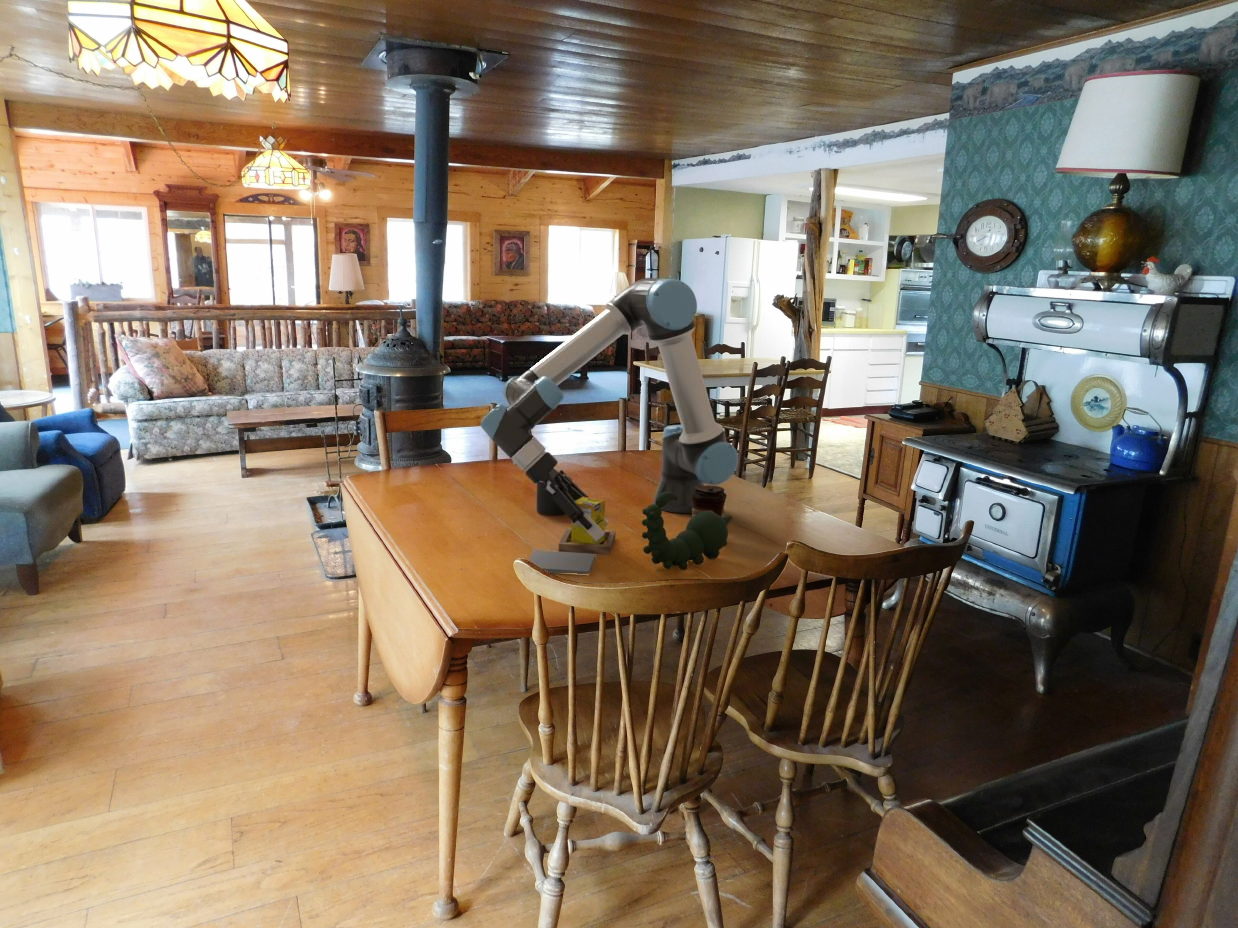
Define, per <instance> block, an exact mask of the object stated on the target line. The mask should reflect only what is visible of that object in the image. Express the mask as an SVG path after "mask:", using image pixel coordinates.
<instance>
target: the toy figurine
mask: <svg viewBox="0 0 1238 928" xmlns="http://www.w3.org/2000/svg"><path fill="white" fill-rule="evenodd" d="M671 499H674V500H676V501H677V500H678V497H677V496H676V494H674V493H673V492H663V493H661V494H660V495H658V496H657V497H656V500H655V503H656V504H654V503H653V504H649V505H648V506H647V507H646V508H643V509H642V514H643V515H644V516H645V517H646V518H644V519H642V521H641V525H642V526H643V527H646V529H647V530H646V531H643V532H642V534H641V537H642V538H643V539H645V540H646V539H647V540H648V545H645V546H643V548H642V549H643V551H642V552H643V553H644V554H646V555H649V554H651V555H650V556H652V557H651V562H652V564H654V565H658V564H660V563H662V566H663V568H664V570H670V569H671V568H672V567H674V566H675V567H678V569H680V570H681V571H685V570H687V569H688V568H689V565H688V564H689V563H688V561H692V562H693V563H694V565H702V564H703V563H704V561H705V558H707V559H708V560H709V559H710V560H712V559H713V560H714V559H716V558H718V557H719V556H720V550H721V549H722V548H723V547H726V546H727V545H728V536H729V530H728V525H729V523H730V522H731V520H732V519H733V517H732V516H733V515H732V516H731V515H727V516H723V517H720V516H719V515H718V514H716V513H713V512H701V513H698V514H696V515H695V516H693V517H691V518H690V519H689V520H688V522H687V525H686V527H685V530H681V531H680V533H678V534H677V536H676V537H674V538H671V539H669V537H667V531H666V529H665V527H664V526H665V521H664V518H663V517H662V514H663V510H661V507H663V506H665V505H666V504H667V503H668V502H669V501H670V500H671Z"/></svg>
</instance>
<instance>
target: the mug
mask: <svg viewBox="0 0 1238 928" xmlns="http://www.w3.org/2000/svg"><path fill="white" fill-rule="evenodd" d="M567 477H568V478H569V479H570V480H572V481H573V478H572V477H570V476H568V475H567ZM545 488H546V485H545V484H544V483H543V481H542V480H540V481H539V482H538V483H536V511H537V513H538V514H540V515H543V516H550V517H551V516H553V517H555V516H557V517H558V516H565V515H566V514H565V512H564V511H563V510H562V509H561V508H560V507H559V506H558V504H557V503H556V502H555V501H554V500H553V499H552V498H551V497H550V496H549V495H548V494H547V493H546V492H545V491H544V489H545Z"/></svg>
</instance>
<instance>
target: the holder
mask: <svg viewBox="0 0 1238 928" xmlns="http://www.w3.org/2000/svg"><path fill="white" fill-rule="evenodd" d="M604 532H605V534H604V541H606V542H605V544H602V545H600V544H584V543H571V542H570V541H571V536H572V527H567V528H566V530H565V531H564V533H563V535H562V537H561V539H560V541H559V542H558V552H573V553H589V554H596V555H599V556H601V555H604V556H611V552H612V549H613V547H614V544H615V541H616V530H610V529H609V530H607V529H606V530H605V529H604Z"/></svg>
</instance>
